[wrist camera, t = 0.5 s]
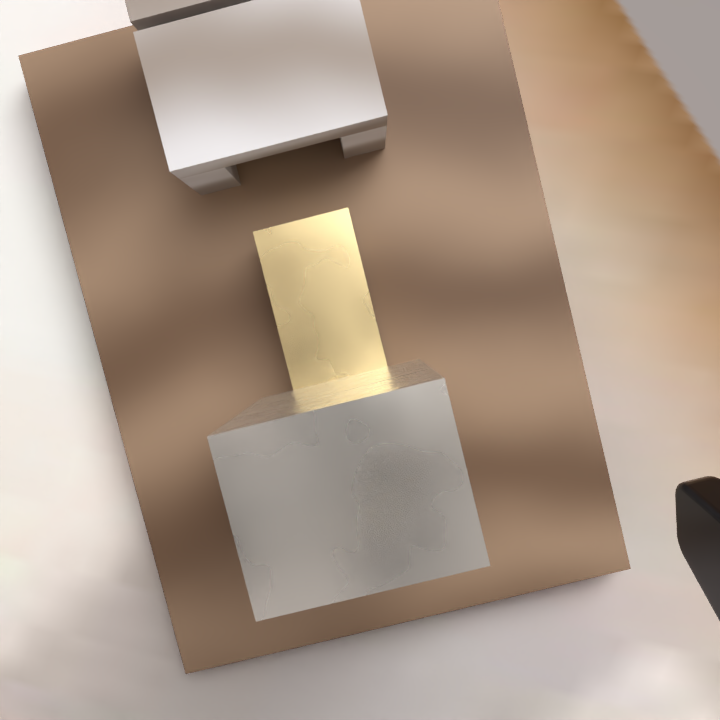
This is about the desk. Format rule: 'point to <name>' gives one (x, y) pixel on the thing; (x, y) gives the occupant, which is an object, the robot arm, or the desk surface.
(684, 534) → the robot arm
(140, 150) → the lock plate
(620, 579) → the desk surface
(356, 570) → the white boxy piece
